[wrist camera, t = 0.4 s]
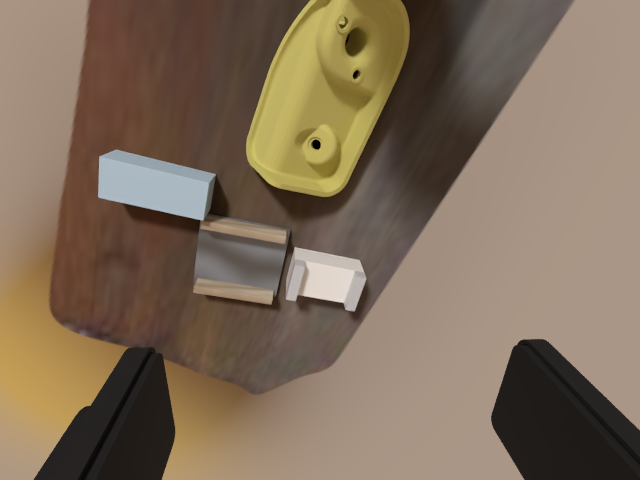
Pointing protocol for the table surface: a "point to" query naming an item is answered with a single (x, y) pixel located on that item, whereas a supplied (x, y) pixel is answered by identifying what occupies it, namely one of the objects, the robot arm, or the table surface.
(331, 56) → the plastic component
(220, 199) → the table surface
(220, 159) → the table surface
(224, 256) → the assembly jig
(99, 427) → the robot arm
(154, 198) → the light blue rectangular block
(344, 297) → the white i-beam block
